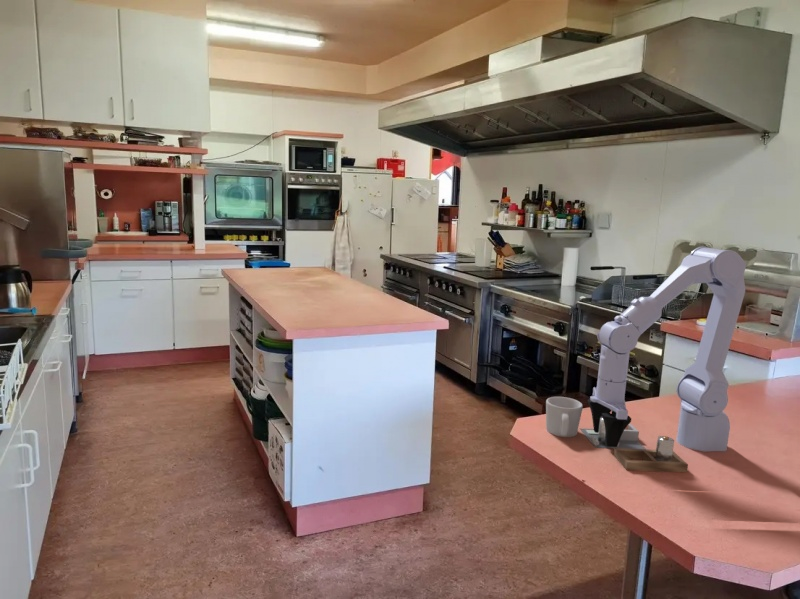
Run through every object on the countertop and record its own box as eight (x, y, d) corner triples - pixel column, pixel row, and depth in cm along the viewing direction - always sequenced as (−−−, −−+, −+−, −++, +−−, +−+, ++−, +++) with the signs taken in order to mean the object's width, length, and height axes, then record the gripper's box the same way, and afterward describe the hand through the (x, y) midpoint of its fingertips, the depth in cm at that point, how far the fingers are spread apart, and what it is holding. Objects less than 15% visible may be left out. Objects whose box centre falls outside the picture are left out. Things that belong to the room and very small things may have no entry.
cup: (582, 450, 123) (586, 415, 122) (544, 445, 125) (547, 410, 123) (577, 431, 134) (581, 398, 132) (542, 427, 135) (545, 394, 134)
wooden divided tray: (670, 463, 119) (672, 450, 118) (686, 477, 113) (688, 464, 112) (613, 461, 119) (614, 448, 118) (625, 475, 112) (627, 462, 112)
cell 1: (609, 440, 126) (611, 414, 125) (614, 446, 123) (617, 419, 122) (595, 439, 126) (598, 414, 125) (600, 445, 123) (603, 419, 122)
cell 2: (666, 461, 117) (669, 434, 116) (673, 468, 114) (677, 440, 113) (651, 461, 117) (655, 433, 116) (658, 468, 114) (662, 440, 113)
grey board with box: (626, 435, 133) (627, 421, 132) (646, 454, 122) (647, 439, 122) (578, 433, 132) (580, 419, 132) (594, 453, 122) (596, 437, 122)
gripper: (582, 367, 129) (576, 425, 132) (606, 388, 115) (598, 452, 117) (613, 369, 129) (606, 426, 132) (641, 390, 115) (633, 453, 117)
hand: (605, 438), depth 125 cm, fingers open, 7 cm apart
